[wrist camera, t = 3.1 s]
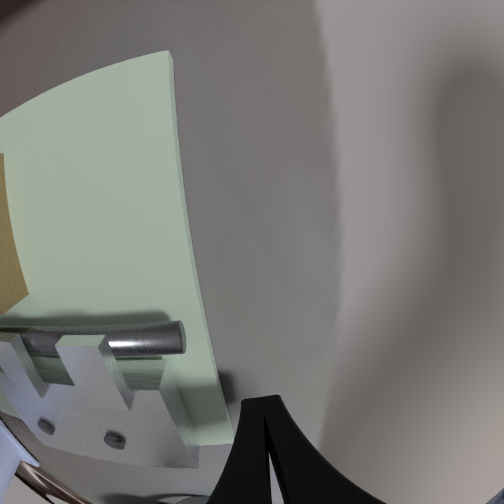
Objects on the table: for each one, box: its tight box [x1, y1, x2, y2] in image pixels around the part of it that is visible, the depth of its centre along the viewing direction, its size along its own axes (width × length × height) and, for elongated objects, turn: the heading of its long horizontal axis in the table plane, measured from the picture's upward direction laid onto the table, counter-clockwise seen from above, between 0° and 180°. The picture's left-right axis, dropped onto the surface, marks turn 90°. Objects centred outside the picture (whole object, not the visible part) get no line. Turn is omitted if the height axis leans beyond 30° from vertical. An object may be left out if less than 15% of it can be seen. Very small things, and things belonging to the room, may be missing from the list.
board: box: [0, 50, 234, 445], centre depth 8 cm, size 17×16×1 cm
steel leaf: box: [0, 332, 200, 468], centre depth 8 cm, size 9×7×2 cm
